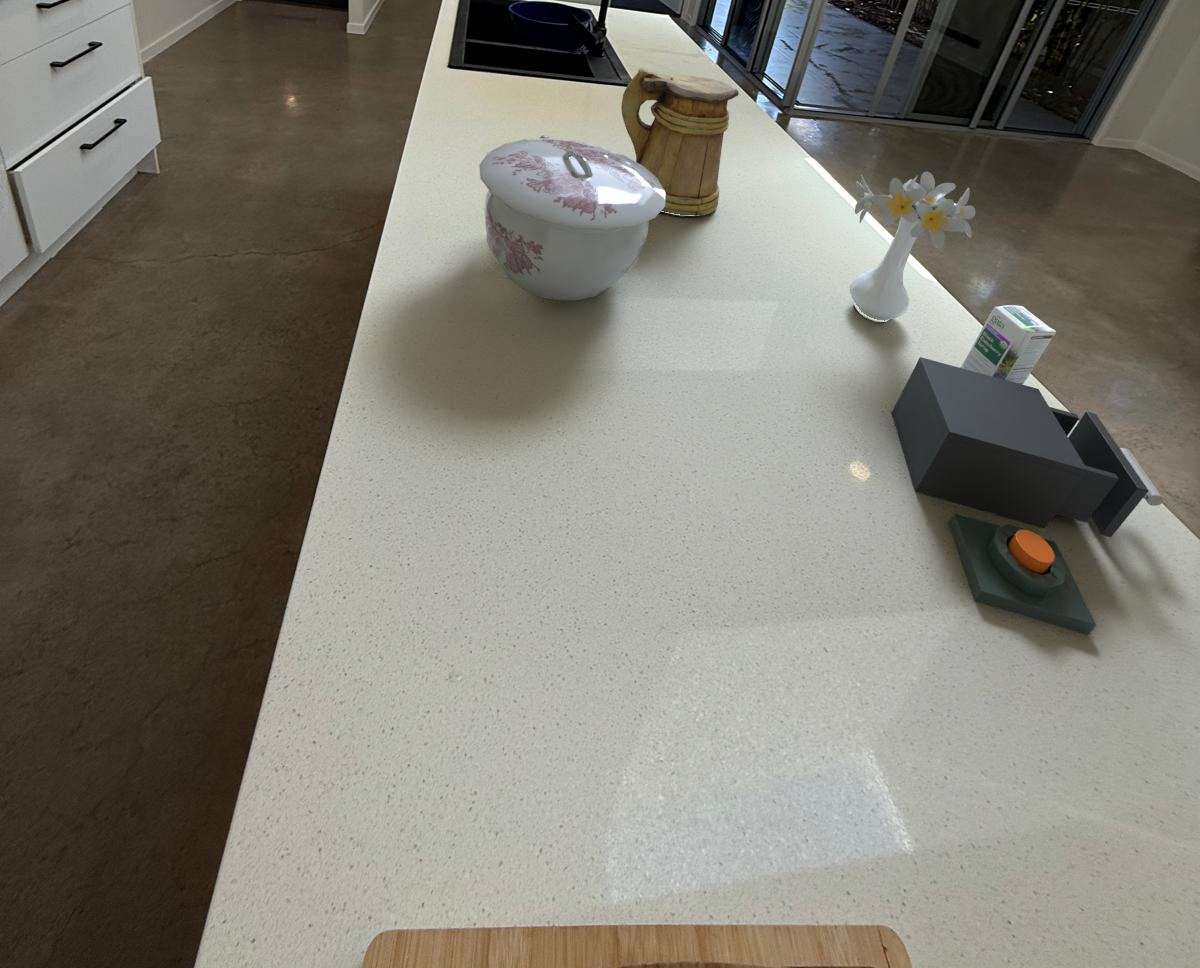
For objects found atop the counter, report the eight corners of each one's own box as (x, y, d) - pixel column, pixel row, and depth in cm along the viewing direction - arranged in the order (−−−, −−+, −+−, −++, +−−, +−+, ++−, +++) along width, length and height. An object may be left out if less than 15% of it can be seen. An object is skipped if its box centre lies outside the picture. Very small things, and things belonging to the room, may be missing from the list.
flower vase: (804, 281, 114) (855, 152, 103) (904, 297, 116) (964, 171, 105) (828, 329, 102) (888, 189, 92) (939, 346, 104) (1010, 210, 93)
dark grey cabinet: (1003, 443, 87) (1038, 388, 82) (1044, 529, 75) (1088, 470, 71) (890, 412, 88) (919, 356, 84) (914, 492, 76) (949, 431, 72)
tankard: (724, 225, 127) (761, 105, 116) (605, 206, 125) (632, 82, 114) (708, 183, 143) (740, 75, 132) (603, 166, 141) (626, 54, 130)
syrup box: (948, 384, 96) (992, 305, 89) (977, 381, 98) (1023, 303, 92) (978, 414, 91) (1027, 333, 85) (1009, 410, 93) (1059, 330, 87)
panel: (1048, 551, 72) (1063, 531, 71) (1088, 635, 64) (1106, 614, 63) (947, 522, 73) (960, 501, 72) (974, 601, 65) (989, 579, 64)
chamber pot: (611, 355, 87) (645, 223, 78) (431, 286, 93) (444, 155, 84) (661, 257, 112) (691, 148, 103) (516, 207, 118) (532, 100, 109)
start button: (1037, 545, 69) (1045, 535, 68) (1052, 578, 66) (1061, 567, 65) (1002, 535, 69) (1010, 524, 68) (1016, 567, 66) (1024, 556, 65)
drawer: (1098, 467, 85) (1131, 423, 81) (1150, 549, 74) (1190, 502, 71) (958, 428, 86) (985, 383, 83) (989, 503, 76) (1021, 455, 72)
